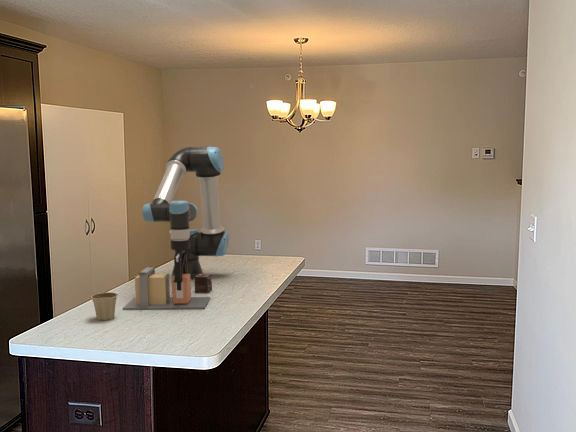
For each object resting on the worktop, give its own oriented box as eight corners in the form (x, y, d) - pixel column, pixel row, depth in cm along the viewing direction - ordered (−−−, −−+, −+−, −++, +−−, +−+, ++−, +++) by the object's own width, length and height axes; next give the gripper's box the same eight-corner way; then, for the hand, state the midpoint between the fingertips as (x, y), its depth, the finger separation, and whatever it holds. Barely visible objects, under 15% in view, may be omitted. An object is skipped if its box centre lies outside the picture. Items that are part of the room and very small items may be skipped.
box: (207, 293, 241) (207, 277, 241) (194, 293, 243) (194, 276, 242) (212, 290, 247) (211, 274, 247) (199, 289, 249) (199, 273, 248)
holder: (134, 299, 232) (132, 265, 231) (210, 298, 232) (209, 265, 231) (122, 309, 216) (121, 274, 215) (204, 309, 216) (203, 273, 215)
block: (176, 299, 228) (175, 273, 226) (191, 298, 228) (190, 273, 226) (172, 303, 221) (171, 277, 219) (187, 303, 221) (186, 277, 219)
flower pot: (103, 323, 199) (102, 299, 198) (86, 319, 204) (85, 296, 203) (124, 316, 207) (123, 294, 206) (107, 313, 212) (106, 291, 211)
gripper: (176, 235, 231) (177, 289, 234) (164, 243, 212) (166, 302, 214) (194, 235, 231) (195, 289, 234) (184, 243, 211) (186, 301, 214)
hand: (181, 295), depth 224 cm, fingers closed on block, 7 cm apart
